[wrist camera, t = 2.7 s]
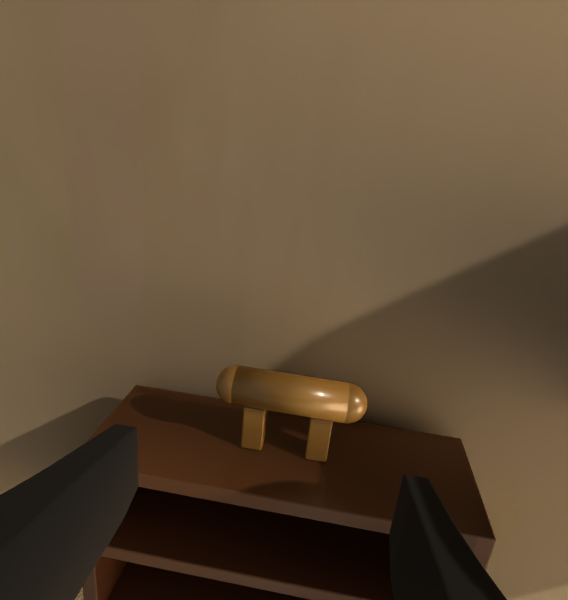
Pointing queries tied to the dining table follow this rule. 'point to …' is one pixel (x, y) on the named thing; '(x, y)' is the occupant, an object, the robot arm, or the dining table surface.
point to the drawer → (271, 493)
